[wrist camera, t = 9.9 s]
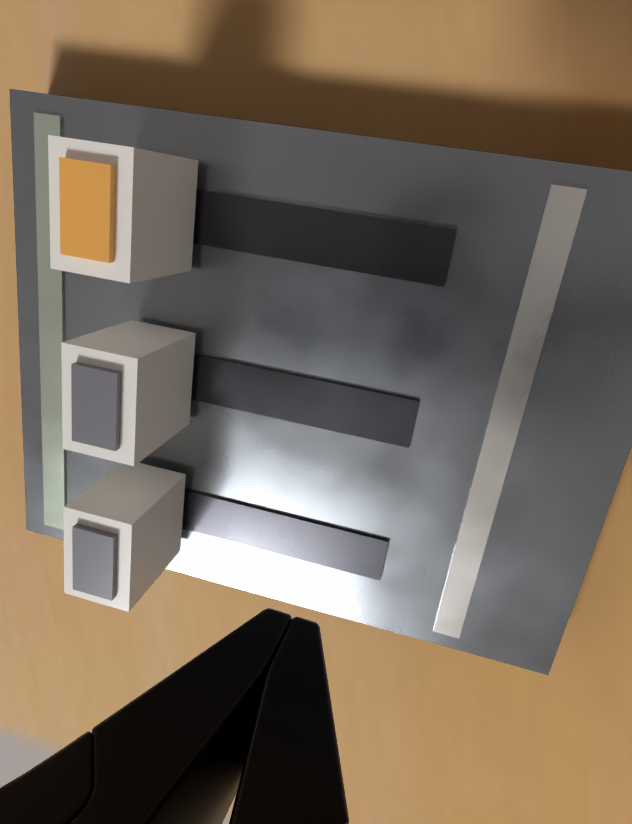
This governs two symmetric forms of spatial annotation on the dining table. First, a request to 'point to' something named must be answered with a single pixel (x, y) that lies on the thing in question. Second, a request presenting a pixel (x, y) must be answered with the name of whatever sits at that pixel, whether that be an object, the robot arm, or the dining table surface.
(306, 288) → the panel
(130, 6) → the dining table surface
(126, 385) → the breaker
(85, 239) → the block
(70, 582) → the block
